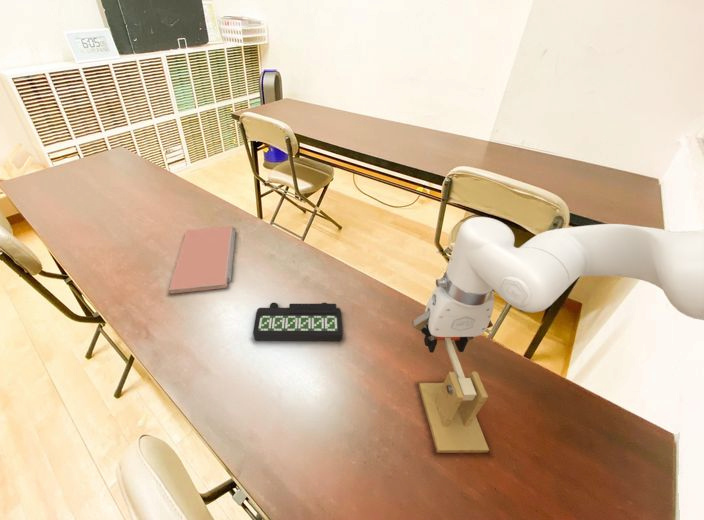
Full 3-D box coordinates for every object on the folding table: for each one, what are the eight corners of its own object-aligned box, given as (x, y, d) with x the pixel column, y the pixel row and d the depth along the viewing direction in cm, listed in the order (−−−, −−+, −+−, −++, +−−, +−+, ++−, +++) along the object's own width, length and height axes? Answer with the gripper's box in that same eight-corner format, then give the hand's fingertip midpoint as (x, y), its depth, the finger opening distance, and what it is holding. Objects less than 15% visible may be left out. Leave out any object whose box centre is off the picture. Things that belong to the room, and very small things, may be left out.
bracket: (418, 385, 68) (430, 352, 60) (461, 385, 68) (479, 351, 60) (436, 452, 58) (454, 422, 51) (487, 452, 58) (512, 422, 50)
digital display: (339, 299, 83) (342, 334, 75) (339, 307, 85) (342, 342, 77) (258, 299, 83) (252, 334, 76) (259, 307, 85) (254, 341, 78)
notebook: (230, 287, 91) (229, 283, 90) (170, 294, 90) (168, 289, 89) (236, 229, 113) (235, 224, 112) (187, 233, 112) (186, 229, 111)
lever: (431, 336, 65) (433, 330, 64) (455, 336, 65) (459, 329, 64) (451, 400, 56) (455, 394, 55) (480, 400, 56) (485, 394, 54)
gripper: (423, 303, 52) (405, 363, 63) (530, 301, 51) (494, 362, 62) (410, 269, 58) (397, 330, 69) (507, 267, 57) (478, 329, 68)
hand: (443, 345), depth 65 cm, fingers closed on lever, 5 cm apart
